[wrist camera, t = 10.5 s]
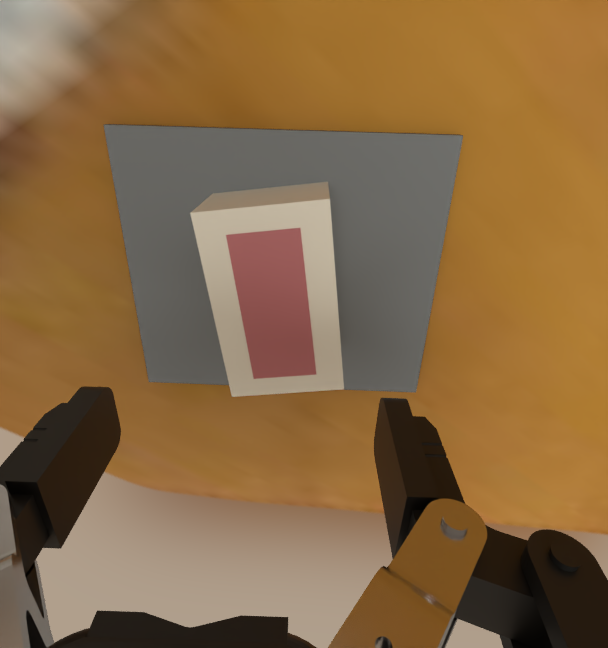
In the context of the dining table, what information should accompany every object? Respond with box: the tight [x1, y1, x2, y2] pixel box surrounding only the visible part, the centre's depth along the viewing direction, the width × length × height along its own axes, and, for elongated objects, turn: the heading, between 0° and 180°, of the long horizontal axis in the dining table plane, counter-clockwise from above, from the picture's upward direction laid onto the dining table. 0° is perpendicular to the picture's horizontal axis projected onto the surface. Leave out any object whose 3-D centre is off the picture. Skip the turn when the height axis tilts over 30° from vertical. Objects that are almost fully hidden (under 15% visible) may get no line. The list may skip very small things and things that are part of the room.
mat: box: [104, 124, 463, 392], centre depth 22 cm, size 16×14×1 cm
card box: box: [190, 182, 344, 397], centre depth 20 cm, size 9×6×4 cm, turn 6°
